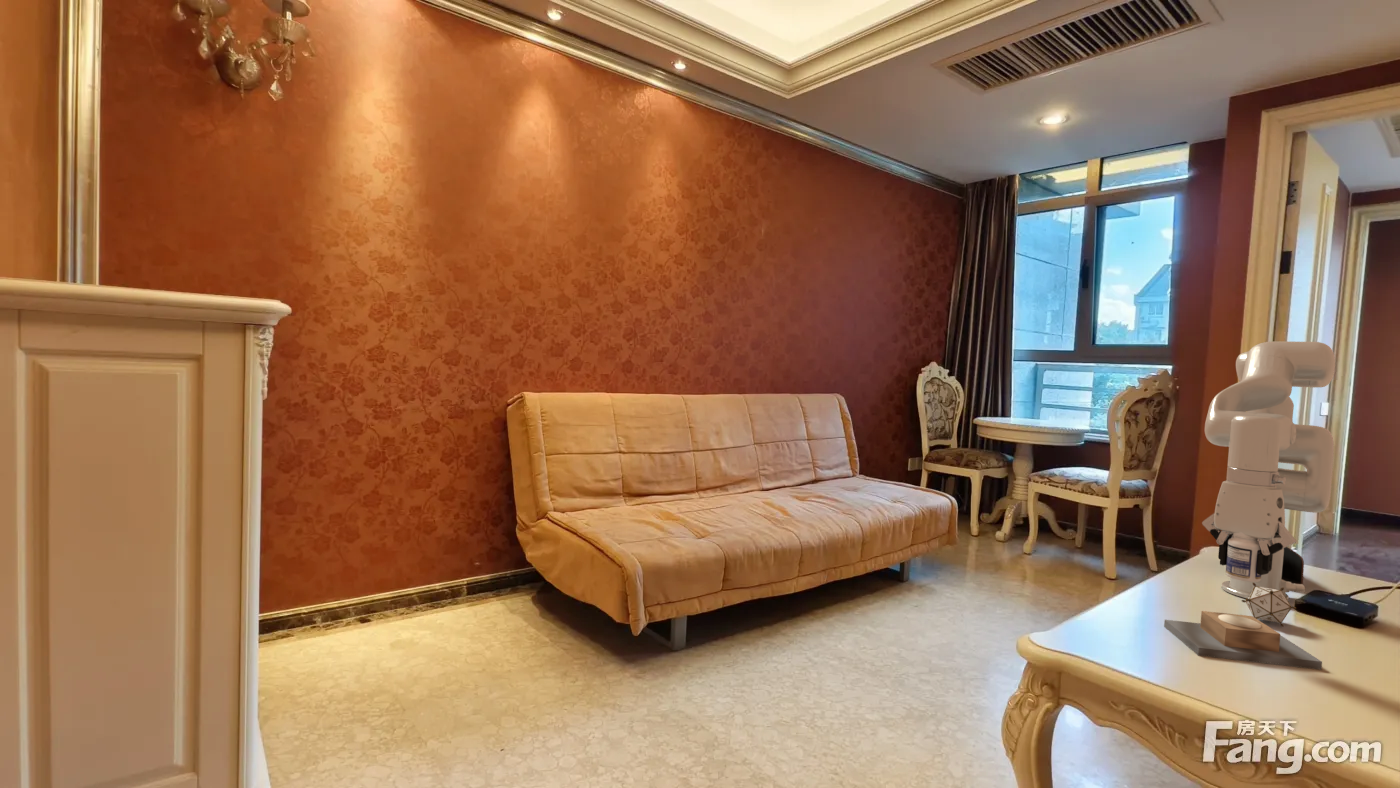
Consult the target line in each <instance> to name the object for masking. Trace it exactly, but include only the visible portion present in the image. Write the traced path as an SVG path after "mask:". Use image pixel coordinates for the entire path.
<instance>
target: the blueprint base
mask: <svg viewBox="0 0 1400 788" xmlns="http://www.w3.org/2000/svg"><path fill="white" fill-rule="evenodd" d="M1200 612H1201V613H1200V614H1201V615H1200V623H1199V622H1193V621H1192V622H1191V621H1179V620H1172V619H1164V624H1163V627H1164V628H1165V629H1166V630H1168V631H1169V633H1171V634H1172V635H1174V636H1175V637H1176V638H1177V639H1178V640H1180V641H1181V643H1183V644H1184V645H1185V646H1186V647H1188V648H1189V649H1190V650H1191V651H1192V652H1193V653H1195V654H1196V655H1197V656H1202V657H1208V658H1209V657H1210V658H1219V659H1226V660H1227V659H1228V660H1234V661H1235V660H1236V661H1243V662H1252V663H1261V664H1269V665H1270V664H1271V665H1279V666H1286V667H1287V666H1288V667H1295V668H1296V667H1297V668H1305V669H1312V670H1314V669H1315V670H1319V671H1321V670H1322V668H1323V667H1322V666H1323V661H1321V659H1319V658H1317V657H1315V656H1314V655H1312V654H1311V653H1309V652H1307V651H1306V650H1304V649H1303V648H1301V647H1299V646H1298V645H1297V644H1295V643H1294V642H1292V641H1290V640H1289V639H1287V638H1286V637H1284V636H1283V635H1281V633H1280V632H1278V631H1276V630H1275V629H1274V628H1272V627H1270V626H1269V625H1267V624H1266V623H1263V622H1262V620H1260V619H1256V618H1254V617H1253V615H1244V614H1235V613H1227V612H1226V613H1225V612H1217V611H1216V612H1215V611H1206V610H1205V611H1204V610H1201V611H1200Z"/></svg>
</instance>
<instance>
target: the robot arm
mask: <svg viewBox="0 0 1400 788" xmlns="http://www.w3.org/2000/svg"><path fill="white" fill-rule="evenodd" d="M1332 349H1333V348H1331V347H1330V346H1329V344H1326V343H1323V342H1321V341H1320V342H1319V341H1286V340H1284V341H1282V340H1281V341H1279V340H1277V341H1265V342H1261V343H1258V344H1255V345H1253V346H1252V347H1251V348H1250V349H1249V350H1248V351H1244V352H1242V353H1240V354H1239V355H1238V356H1237V357H1236V360H1235V371H1236V375H1237V379H1238V382H1236V383H1234V384H1231V385H1229V386H1228V387H1226V388H1225V389H1222V390H1221V391H1219V392H1218V393H1217V394H1216V395H1215V396H1214V398H1212V400H1211V402H1210V404H1209V406H1208V411H1207V415H1206V418H1205V423H1204V434H1205V437H1206V440H1207V441H1208V442H1210V443H1211V444H1212V445H1215V446H1219V447H1225V448H1227V447H1228V455H1227V456H1228V457H1227V468H1226V469H1227V470H1226V480H1224V481H1222V482H1221V486H1220V488H1219V492H1218V494H1217V499H1216V503H1215V508H1214V512H1213V513H1212V514H1210V515H1209V516H1208V517H1206V518H1205V519H1204V520H1203V521H1202V522H1201V524H1202V526H1203V527H1204V528H1205V529H1206V530H1207V531H1208V532H1209V533H1210V535H1211V536H1212V537H1213V538H1214V540H1215V542H1216V544H1217V545H1218V555H1217V556H1218V559H1219V565H1220V566H1226V562H1227V549H1228V540H1229V539H1230V538H1233V536H1234V535H1233V533H1239V532H1242V533H1244V534H1245V535H1247V536H1250V537H1253V538H1258V541H1259V545H1260V548H1261V554H1258V561H1257V573H1258V574H1259V575H1261V580H1260V581H1259V582H1246V581H1241V580H1237V579H1233V578H1231V577H1229V580H1226V581H1222V582H1221V588H1222V590H1224V591H1225V592H1227V593H1229V594H1230V595H1231V594H1232V595H1233V596H1237V597H1240V598H1242V599H1243V598H1244V599H1246V598H1248V596H1249V594H1250V593H1251V591H1252V590H1253V588H1254V587H1255V586H1254V585H1253V583H1255V584H1256V586H1260V587H1266V588H1272V589H1278V590H1280V589H1281V588H1283V587H1284V590H1282V592H1283V594H1284V595H1285V597H1286V599H1287V600H1288V601H1289V595H1288V594H1287V593H1289V592H1294V593H1305V592H1306V588H1305V587H1306V586H1305V585H1304V584H1303V585H1302V584H1291V582H1286V581H1284V580H1282V579H1281V578H1282V566H1283V555H1284V548H1285V547H1288V548H1289V547H1291V546H1293V545H1294V544H1296V543H1297V540H1296V538H1295V536H1293V534H1292V533H1291V532H1290V531H1289V530H1288V528H1287V527H1286V513H1285V512H1286V510H1290V511H1299V512H1306V513H1315V514H1316V513H1322V512H1324V511H1326V510H1327V508H1328V507H1329V505H1330V501H1331V495H1332V493H1331V492H1332V481H1333V480H1332V479H1333V467H1334V456H1335V452H1334V451H1335V444H1334V436H1333V435H1332V432H1330V430H1329V429H1327V428H1325V427H1322V426H1319V425H1311V424H1295V423H1294V421H1293V418H1294V406H1295V405H1294V401H1293V400H1292V398H1291V397H1290V396H1291V395H1292V391H1293V387H1294V388H1296V387H1297V388H1324V387H1327V386H1328V385H1329V384H1330V383H1331V382H1332V380H1333V377H1334V375H1335V369H1336V359H1335V358H1336V357H1335V353H1334V351H1333V350H1332ZM1279 464H1289V465H1299V466H1302V467H1305V469H1306V470H1297V469H1289V468H1288V469H1287V468H1280V467H1279Z"/></svg>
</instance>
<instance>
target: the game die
mask: <svg viewBox="0 0 1400 788" xmlns="http://www.w3.org/2000/svg"><path fill="white" fill-rule="evenodd" d="M1253 585H1254V586H1255V587H1254V588H1253V590H1252V591H1251V593H1250V594H1249V596H1248V598H1245V599H1242V600H1241V602H1242V603H1246V605H1247V607H1248V609H1249V610H1250V613H1251V616H1253V617H1254V618H1256V619H1257V620H1259V621H1265V622H1272V623H1277V624H1279V625H1280V627H1282V628H1284V626H1285V625H1284V624H1283V621H1284V620H1285V618H1286V617H1287V615H1288V614H1289V612H1290V611H1291V610H1292V609H1293V610H1295V609H1297V607H1296V606H1293V605H1291V604H1290V602H1289V599H1288V600H1287V599H1286V597H1285V595H1284V594H1283V592H1282V590H1284V587H1283V588H1281V589H1280V590H1278V589H1272V588H1266V587H1260V586H1256V584H1255V583H1253Z"/></svg>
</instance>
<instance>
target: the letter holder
mask: <svg viewBox="0 0 1400 788" xmlns="http://www.w3.org/2000/svg"><path fill="white" fill-rule="evenodd" d="M1233 538H1234V536H1233ZM1304 568H1305V563H1304V558H1303V557H1302V556H1301V554H1299V553H1297V552H1296V551H1295V550H1293V549H1291V548H1289V546H1288V547H1285V548H1284V555H1283V566H1282V578H1281V579H1282V580H1284V581H1286V582H1291V584H1302V585H1304Z"/></svg>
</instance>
